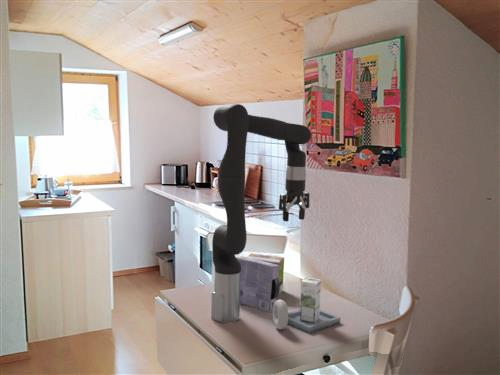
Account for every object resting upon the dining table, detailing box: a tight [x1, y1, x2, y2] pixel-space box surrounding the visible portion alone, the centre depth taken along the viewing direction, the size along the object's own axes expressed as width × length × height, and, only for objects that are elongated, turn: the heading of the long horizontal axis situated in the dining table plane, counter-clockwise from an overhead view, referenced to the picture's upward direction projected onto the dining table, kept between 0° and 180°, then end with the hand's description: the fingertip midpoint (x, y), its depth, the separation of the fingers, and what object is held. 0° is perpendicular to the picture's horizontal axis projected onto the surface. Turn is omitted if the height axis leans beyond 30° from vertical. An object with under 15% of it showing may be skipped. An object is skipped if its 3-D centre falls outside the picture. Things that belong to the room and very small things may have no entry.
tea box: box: [246, 252, 285, 296], centre depth 214 cm, size 15×10×15 cm, turn 73°
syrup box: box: [299, 277, 322, 323], centre depth 181 cm, size 6×6×14 cm
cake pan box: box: [235, 255, 280, 313], centre depth 196 cm, size 19×5×18 cm, turn 54°
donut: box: [272, 299, 289, 331], centre depth 175 cm, size 10×4×10 cm, turn 13°
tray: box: [287, 309, 341, 334], centre depth 182 cm, size 16×14×2 cm
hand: (293, 220), depth 197 cm, fingers open, 8 cm apart
